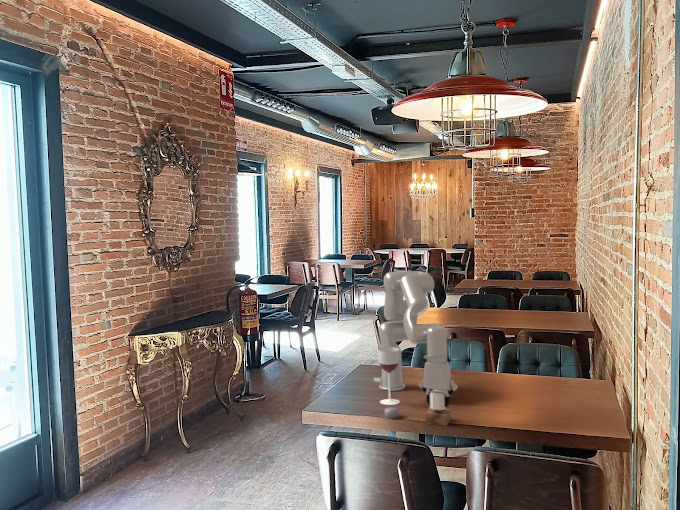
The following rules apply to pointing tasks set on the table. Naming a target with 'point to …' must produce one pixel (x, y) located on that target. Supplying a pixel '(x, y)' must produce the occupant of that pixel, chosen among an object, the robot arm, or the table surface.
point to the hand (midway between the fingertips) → (438, 404)
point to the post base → (438, 417)
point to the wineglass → (388, 367)
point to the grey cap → (391, 413)
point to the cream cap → (437, 400)
